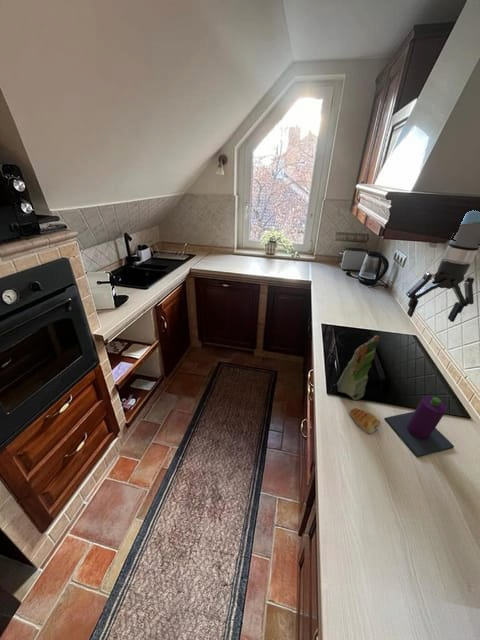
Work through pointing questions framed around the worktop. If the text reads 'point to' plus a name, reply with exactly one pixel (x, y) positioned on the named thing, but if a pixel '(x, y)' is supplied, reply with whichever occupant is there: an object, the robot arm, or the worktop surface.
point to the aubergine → (426, 417)
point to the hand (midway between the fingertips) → (429, 317)
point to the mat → (417, 445)
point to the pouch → (358, 370)
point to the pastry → (365, 420)
